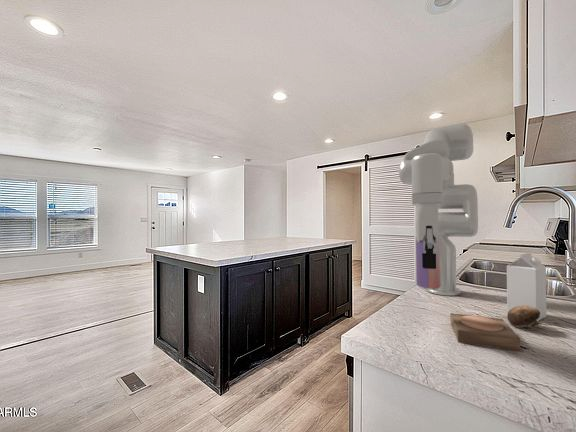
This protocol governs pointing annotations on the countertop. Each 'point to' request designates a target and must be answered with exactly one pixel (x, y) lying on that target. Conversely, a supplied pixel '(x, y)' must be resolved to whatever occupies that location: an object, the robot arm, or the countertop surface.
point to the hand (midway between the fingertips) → (428, 265)
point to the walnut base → (484, 331)
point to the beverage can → (428, 277)
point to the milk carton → (527, 284)
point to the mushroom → (523, 316)
